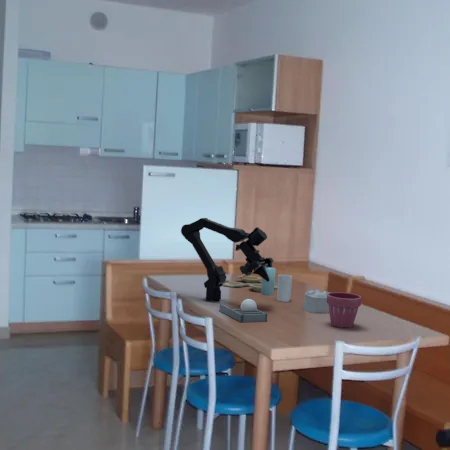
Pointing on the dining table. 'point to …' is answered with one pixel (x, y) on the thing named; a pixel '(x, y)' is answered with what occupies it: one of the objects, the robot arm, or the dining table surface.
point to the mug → (284, 288)
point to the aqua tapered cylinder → (269, 282)
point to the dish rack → (244, 314)
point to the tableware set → (247, 281)
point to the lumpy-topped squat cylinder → (316, 302)
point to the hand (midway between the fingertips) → (271, 280)
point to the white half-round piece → (248, 305)
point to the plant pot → (343, 308)
